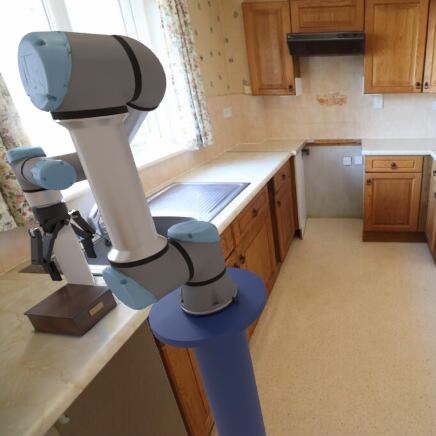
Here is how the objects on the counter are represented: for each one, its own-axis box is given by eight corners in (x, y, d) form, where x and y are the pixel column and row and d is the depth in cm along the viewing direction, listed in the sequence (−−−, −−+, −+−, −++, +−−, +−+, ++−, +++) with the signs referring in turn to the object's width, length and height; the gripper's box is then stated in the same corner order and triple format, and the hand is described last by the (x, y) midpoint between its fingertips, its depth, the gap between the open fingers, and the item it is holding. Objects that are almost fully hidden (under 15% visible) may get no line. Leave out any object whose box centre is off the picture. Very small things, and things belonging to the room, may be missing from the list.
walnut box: (118, 303, 92) (111, 286, 90) (81, 336, 81) (72, 318, 78) (75, 299, 95) (67, 283, 92) (33, 331, 83) (23, 313, 81)
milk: (95, 285, 101) (69, 222, 91) (72, 293, 97) (42, 229, 88) (93, 277, 105) (68, 216, 96) (71, 284, 102) (42, 221, 92)
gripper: (73, 188, 101) (96, 247, 110) (-12, 220, 79) (26, 291, 88) (93, 188, 99) (116, 249, 109) (13, 222, 78) (49, 293, 87)
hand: (76, 268), depth 99 cm, fingers open, 12 cm apart
